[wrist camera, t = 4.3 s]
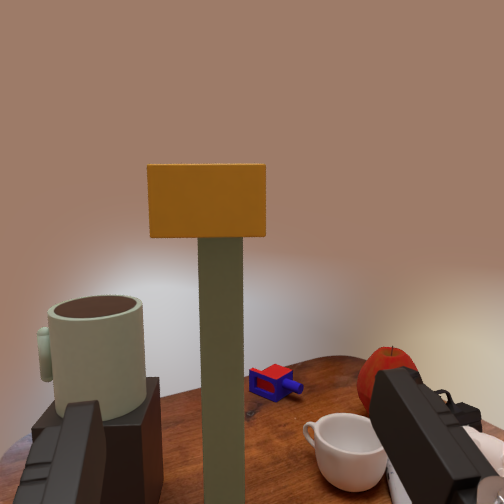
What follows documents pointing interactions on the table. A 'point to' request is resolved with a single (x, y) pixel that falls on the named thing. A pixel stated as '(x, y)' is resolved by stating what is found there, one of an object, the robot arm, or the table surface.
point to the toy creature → (489, 448)
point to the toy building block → (273, 382)
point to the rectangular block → (206, 200)
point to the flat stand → (222, 368)
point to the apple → (380, 361)
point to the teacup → (347, 451)
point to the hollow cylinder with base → (107, 388)
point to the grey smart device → (396, 486)
